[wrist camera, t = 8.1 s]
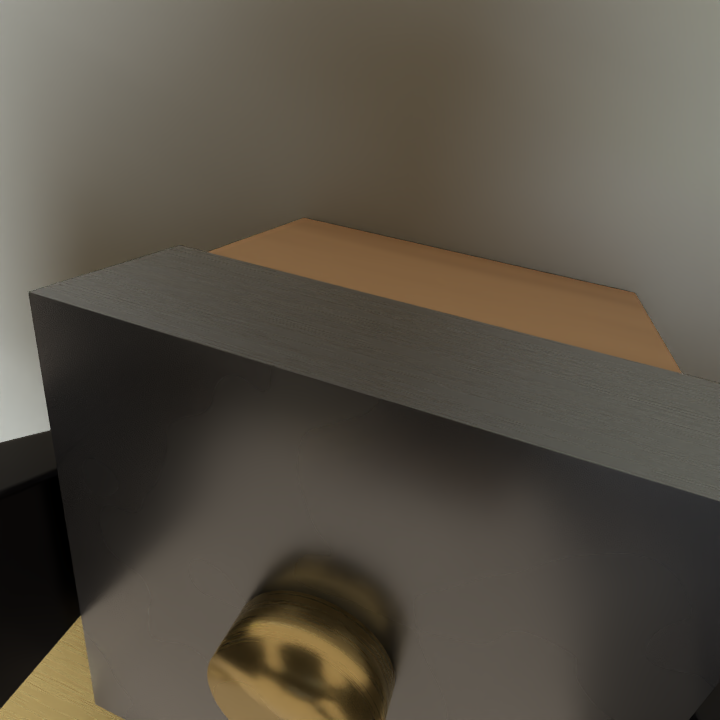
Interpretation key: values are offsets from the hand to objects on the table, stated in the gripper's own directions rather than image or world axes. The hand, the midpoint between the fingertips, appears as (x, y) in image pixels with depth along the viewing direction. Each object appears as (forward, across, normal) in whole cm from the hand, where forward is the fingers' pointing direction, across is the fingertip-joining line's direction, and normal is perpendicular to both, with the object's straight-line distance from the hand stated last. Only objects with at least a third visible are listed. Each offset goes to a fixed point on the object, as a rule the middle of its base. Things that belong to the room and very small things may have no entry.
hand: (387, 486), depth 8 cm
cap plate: (-1, 0, 0) cm, 1 cm away
